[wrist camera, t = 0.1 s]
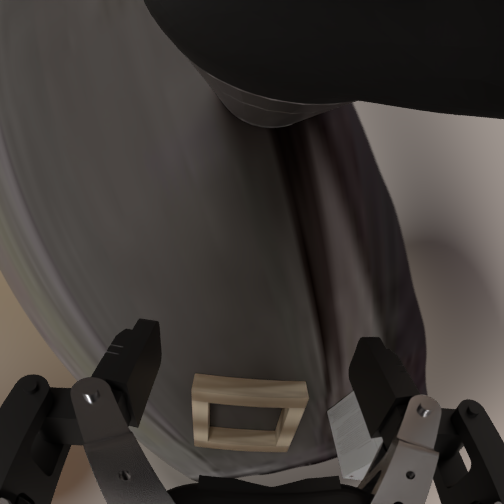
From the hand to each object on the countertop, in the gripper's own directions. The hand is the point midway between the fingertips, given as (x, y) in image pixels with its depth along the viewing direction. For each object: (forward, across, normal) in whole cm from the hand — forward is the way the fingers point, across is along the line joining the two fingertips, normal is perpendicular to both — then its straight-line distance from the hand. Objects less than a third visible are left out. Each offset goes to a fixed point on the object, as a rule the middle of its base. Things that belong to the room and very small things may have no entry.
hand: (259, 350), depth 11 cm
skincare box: (+18, -17, +24) cm, 35 cm away
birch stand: (+18, -2, +26) cm, 32 cm away
